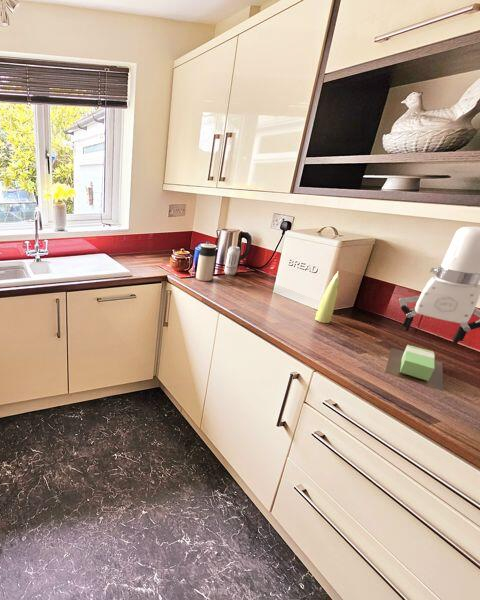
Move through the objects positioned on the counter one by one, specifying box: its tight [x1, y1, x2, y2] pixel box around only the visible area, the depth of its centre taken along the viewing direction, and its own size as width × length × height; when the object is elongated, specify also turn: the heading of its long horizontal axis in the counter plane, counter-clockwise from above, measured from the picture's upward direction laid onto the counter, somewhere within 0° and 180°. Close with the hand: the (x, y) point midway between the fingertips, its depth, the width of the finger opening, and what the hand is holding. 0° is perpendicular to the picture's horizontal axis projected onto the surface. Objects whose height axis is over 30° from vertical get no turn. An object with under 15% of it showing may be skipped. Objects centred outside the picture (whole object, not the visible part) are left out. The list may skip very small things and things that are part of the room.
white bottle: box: [224, 245, 241, 276], centre depth 182 cm, size 6×6×15 cm
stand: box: [384, 347, 444, 392], centre depth 100 cm, size 12×20×1 cm, turn 135°
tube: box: [314, 271, 340, 324], centre depth 127 cm, size 6×5×20 cm
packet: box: [400, 344, 436, 381], centre depth 99 cm, size 6×14×4 cm, turn 135°
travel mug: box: [195, 243, 217, 282], centre depth 173 cm, size 8×8×18 cm
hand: (429, 335), depth 92 cm, fingers open, 9 cm apart
